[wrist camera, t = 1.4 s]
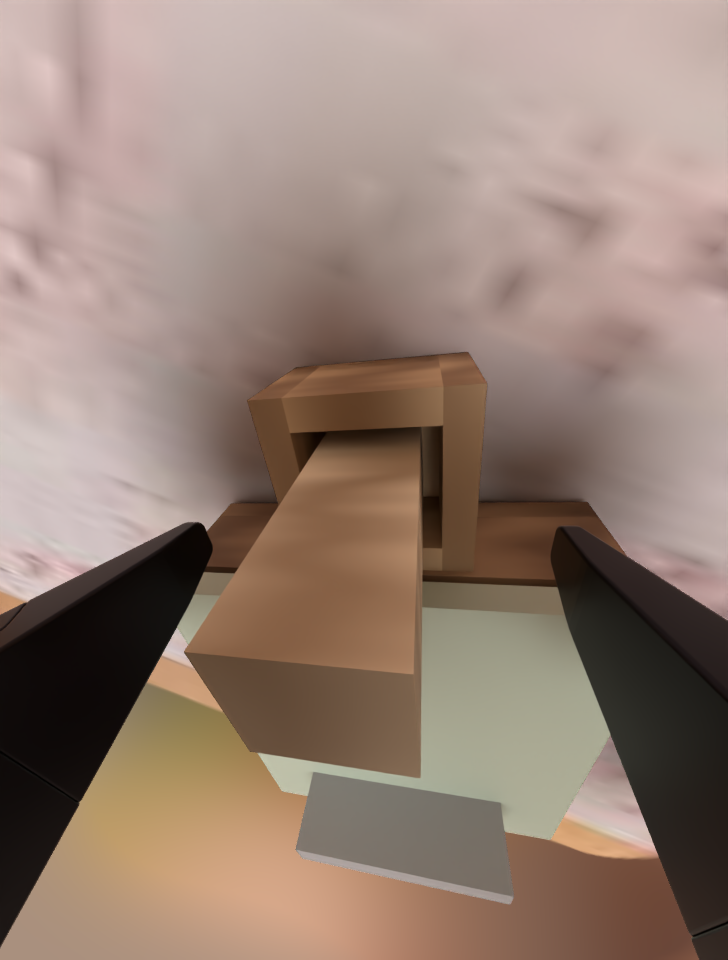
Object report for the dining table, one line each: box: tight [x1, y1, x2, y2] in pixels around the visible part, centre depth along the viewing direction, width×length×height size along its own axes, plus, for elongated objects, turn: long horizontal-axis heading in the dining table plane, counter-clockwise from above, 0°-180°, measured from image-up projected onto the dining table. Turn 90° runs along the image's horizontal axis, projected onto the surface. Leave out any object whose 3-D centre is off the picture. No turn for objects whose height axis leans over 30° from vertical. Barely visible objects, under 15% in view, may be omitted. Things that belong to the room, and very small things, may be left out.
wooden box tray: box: [204, 352, 627, 587], centre depth 16 cm, size 16×25×4 cm, turn 7°
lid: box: [177, 572, 611, 904], centre depth 14 cm, size 16×19×4 cm
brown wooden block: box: [184, 427, 423, 779], centre depth 9 cm, size 3×3×9 cm
